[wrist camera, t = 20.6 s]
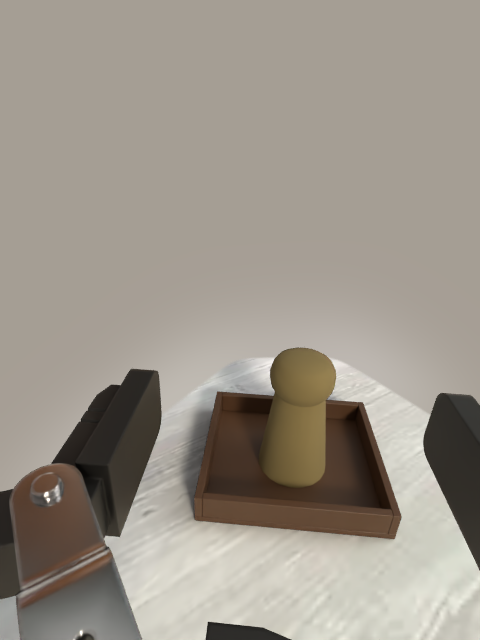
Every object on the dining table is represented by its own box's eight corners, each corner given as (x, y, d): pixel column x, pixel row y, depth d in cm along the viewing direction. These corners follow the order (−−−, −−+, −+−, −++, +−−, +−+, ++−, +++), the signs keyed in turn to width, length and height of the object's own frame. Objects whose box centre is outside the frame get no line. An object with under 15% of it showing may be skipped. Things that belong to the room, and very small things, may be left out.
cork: (338, 461, 35) (359, 358, 30) (298, 501, 31) (315, 389, 26) (285, 427, 38) (296, 331, 34) (244, 459, 35) (250, 355, 30)
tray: (194, 520, 30) (194, 498, 28) (217, 410, 41) (217, 391, 40) (394, 539, 29) (402, 517, 28) (359, 421, 41) (363, 402, 39)
